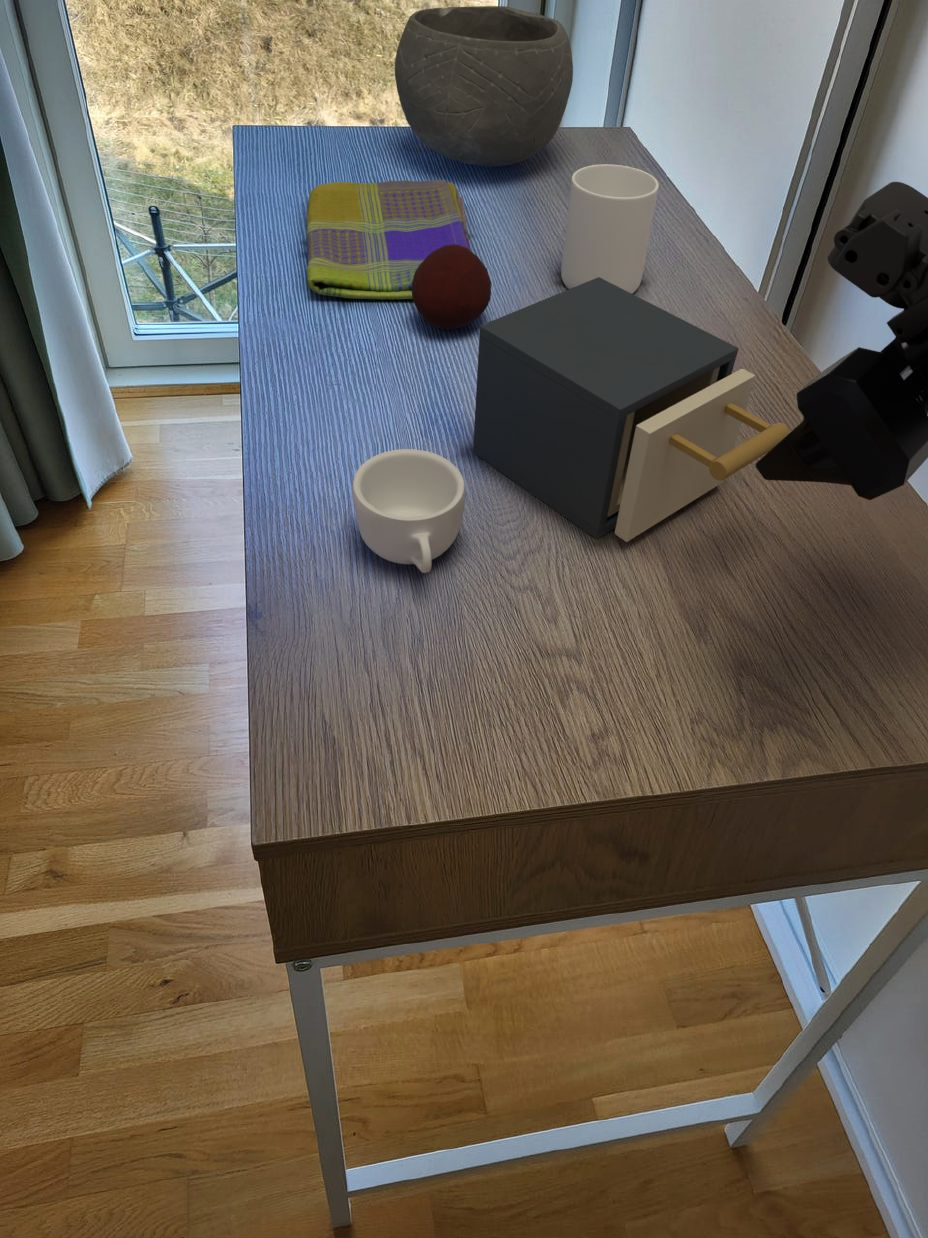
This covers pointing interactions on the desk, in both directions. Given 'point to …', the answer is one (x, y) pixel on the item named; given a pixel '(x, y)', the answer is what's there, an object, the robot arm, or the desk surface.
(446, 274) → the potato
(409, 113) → the bowl
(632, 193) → the cup
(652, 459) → the drawer
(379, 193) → the dish towel
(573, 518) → the cabinet
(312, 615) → the desk surface
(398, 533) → the teacup
